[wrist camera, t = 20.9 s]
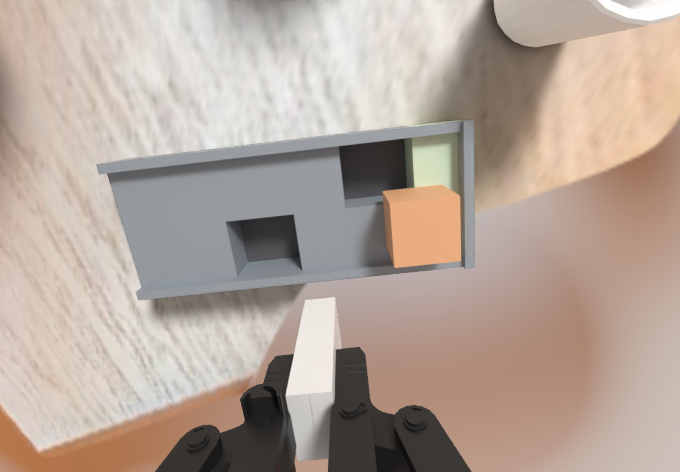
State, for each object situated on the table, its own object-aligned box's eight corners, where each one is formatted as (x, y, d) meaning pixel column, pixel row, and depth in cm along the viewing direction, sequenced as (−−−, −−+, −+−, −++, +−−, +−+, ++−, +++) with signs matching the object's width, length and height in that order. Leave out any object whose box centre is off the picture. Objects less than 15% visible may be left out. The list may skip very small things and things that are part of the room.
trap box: (164, 277, 37) (135, 302, 32) (131, 158, 34) (92, 165, 28) (455, 247, 36) (474, 268, 31) (452, 120, 33) (474, 119, 27)
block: (386, 246, 32) (394, 268, 27) (382, 191, 30) (389, 203, 26) (443, 240, 32) (461, 261, 27) (441, 184, 30) (460, 195, 26)
